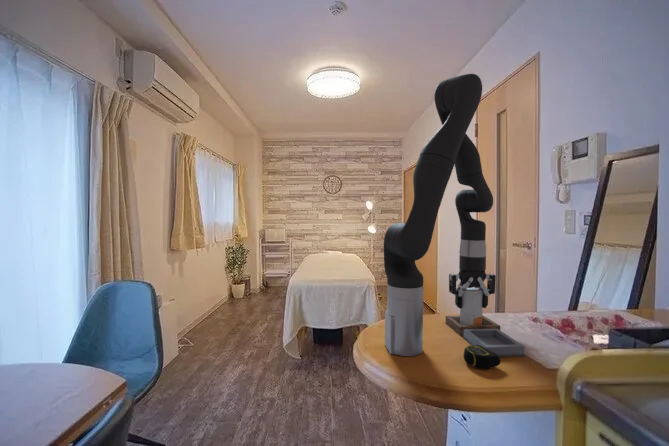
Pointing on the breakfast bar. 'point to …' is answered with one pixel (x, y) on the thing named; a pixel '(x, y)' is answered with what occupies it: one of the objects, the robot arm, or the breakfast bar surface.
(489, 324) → the brown rectangular frame
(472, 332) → the tray
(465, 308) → the skincare box
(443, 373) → the breakfast bar surface
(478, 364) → the tape measure
